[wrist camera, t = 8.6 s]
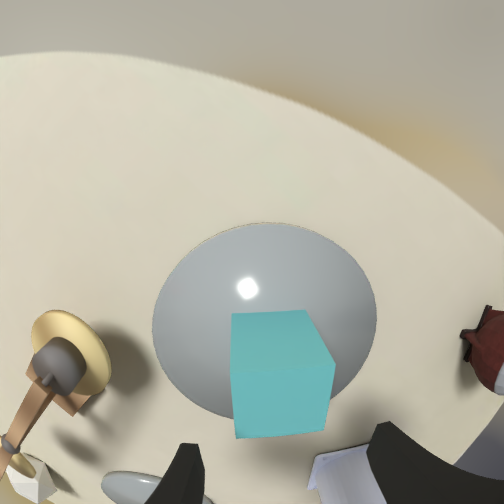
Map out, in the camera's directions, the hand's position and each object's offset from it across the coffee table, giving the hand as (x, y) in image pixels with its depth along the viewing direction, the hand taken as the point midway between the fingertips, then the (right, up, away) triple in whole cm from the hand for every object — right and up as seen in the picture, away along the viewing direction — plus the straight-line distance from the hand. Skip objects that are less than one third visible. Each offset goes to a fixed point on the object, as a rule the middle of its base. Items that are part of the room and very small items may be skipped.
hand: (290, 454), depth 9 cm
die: (-35, -25, +14) cm, 45 cm away
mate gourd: (+21, 0, +12) cm, 24 cm away
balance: (-18, -3, +10) cm, 21 cm away
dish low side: (-1, +2, +10) cm, 10 cm away
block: (0, +2, +8) cm, 9 cm away
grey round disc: (-14, -24, +15) cm, 32 cm away
